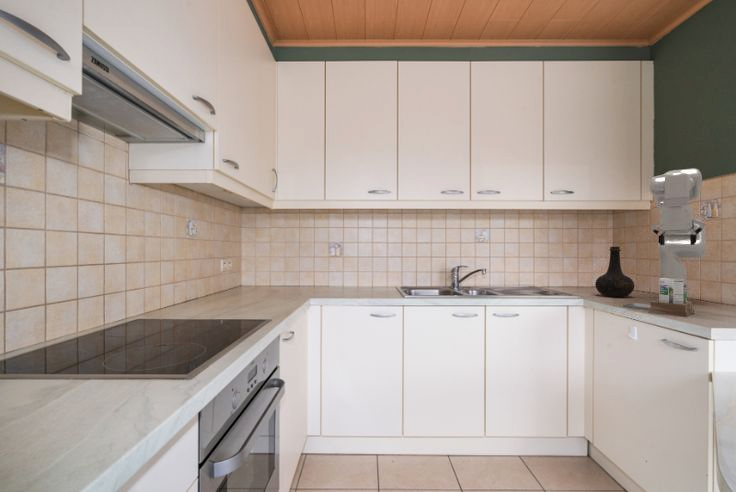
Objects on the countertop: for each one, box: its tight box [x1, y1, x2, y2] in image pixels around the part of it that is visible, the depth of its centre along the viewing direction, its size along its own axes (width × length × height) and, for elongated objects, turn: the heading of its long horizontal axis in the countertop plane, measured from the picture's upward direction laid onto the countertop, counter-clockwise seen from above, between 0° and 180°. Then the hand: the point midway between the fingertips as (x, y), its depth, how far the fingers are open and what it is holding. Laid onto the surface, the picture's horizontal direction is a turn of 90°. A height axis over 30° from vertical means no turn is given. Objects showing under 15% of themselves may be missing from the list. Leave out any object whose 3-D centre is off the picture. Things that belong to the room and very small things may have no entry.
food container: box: [683, 283, 690, 302], centre depth 162 cm, size 12×6×10 cm, turn 114°
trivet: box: [622, 302, 650, 311], centre depth 161 cm, size 11×11×1 cm
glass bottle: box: [594, 246, 635, 298], centre depth 197 cm, size 18×18×28 cm
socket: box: [648, 299, 695, 318], centre depth 147 cm, size 12×12×4 cm
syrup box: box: [658, 277, 683, 304], centre depth 147 cm, size 6×6×14 cm
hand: (677, 245), depth 145 cm, fingers open, 9 cm apart
